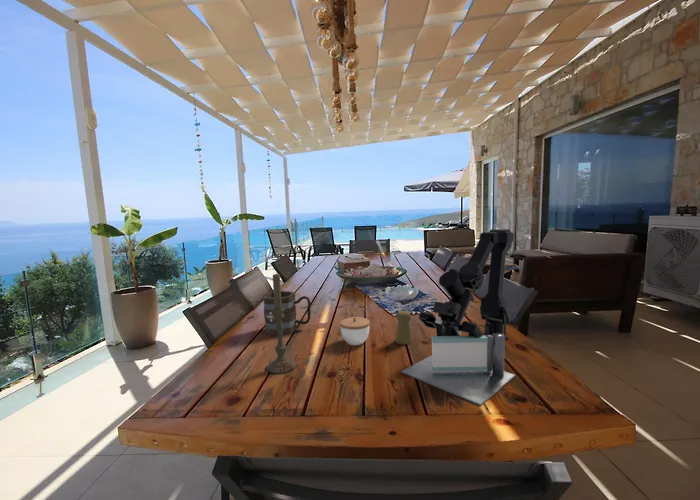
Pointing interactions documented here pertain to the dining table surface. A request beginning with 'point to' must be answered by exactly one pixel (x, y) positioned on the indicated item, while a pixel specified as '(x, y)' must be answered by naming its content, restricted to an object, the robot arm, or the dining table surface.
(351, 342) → the lidded jar
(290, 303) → the mug
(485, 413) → the dining table surface
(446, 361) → the gate
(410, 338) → the olive green shaker
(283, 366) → the candlestick holder
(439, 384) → the gate post
